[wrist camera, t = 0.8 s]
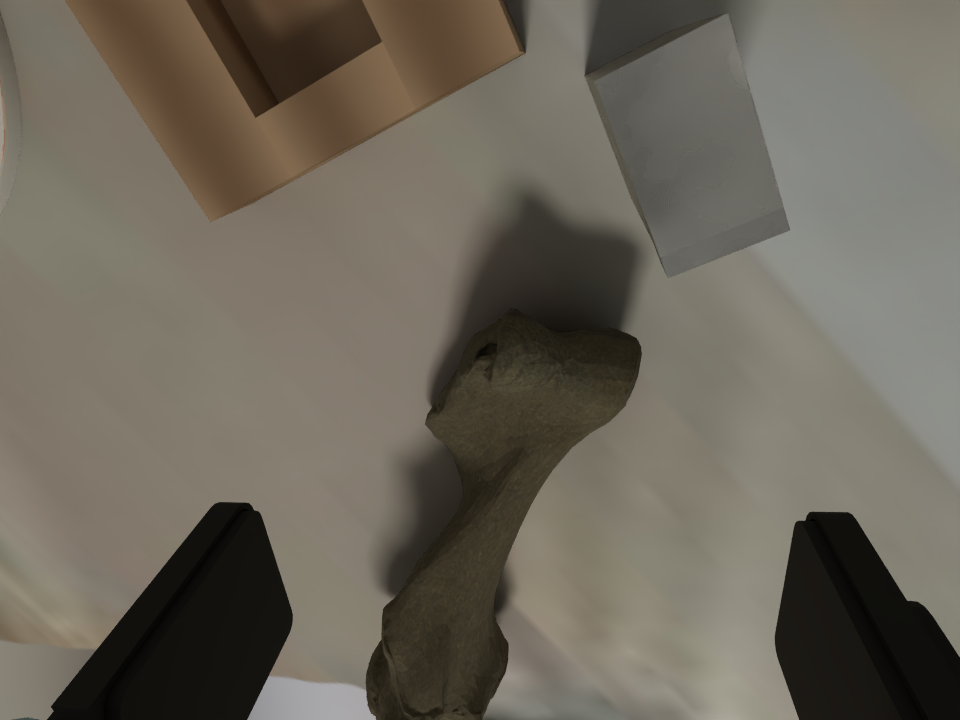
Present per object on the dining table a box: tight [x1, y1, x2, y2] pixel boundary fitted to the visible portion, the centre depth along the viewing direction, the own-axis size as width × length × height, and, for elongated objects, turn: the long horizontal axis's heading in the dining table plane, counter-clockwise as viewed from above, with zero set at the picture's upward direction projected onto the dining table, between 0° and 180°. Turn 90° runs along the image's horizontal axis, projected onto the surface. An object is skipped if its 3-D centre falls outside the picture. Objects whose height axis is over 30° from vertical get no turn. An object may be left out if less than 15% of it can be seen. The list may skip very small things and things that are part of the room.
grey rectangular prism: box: [585, 13, 790, 278], centre depth 23 cm, size 4×7×10 cm, turn 26°
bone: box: [366, 309, 642, 720], centre depth 36 cm, size 10×10×30 cm
